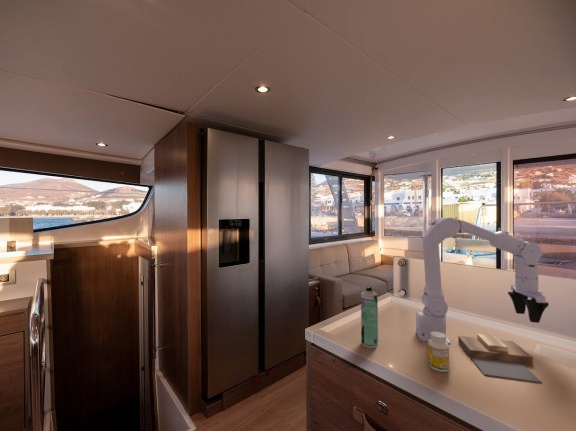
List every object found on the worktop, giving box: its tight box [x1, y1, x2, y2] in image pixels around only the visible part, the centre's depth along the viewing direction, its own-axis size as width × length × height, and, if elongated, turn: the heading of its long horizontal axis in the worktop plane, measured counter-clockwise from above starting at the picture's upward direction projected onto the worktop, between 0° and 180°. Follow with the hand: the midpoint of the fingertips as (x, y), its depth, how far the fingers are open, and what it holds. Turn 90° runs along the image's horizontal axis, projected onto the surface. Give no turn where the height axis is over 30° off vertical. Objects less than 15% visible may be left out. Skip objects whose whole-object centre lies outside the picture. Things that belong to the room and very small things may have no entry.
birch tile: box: [476, 333, 508, 352], centre depth 83 cm, size 5×8×2 cm, turn 164°
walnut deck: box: [457, 335, 534, 366], centre depth 82 cm, size 16×10×2 cm, turn 74°
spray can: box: [360, 285, 379, 349], centre depth 89 cm, size 6×6×20 cm
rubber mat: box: [470, 357, 543, 384], centre depth 74 cm, size 13×9×1 cm
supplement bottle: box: [427, 332, 450, 373], centre depth 75 cm, size 5×5×10 cm
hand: (527, 317), depth 86 cm, fingers open, 7 cm apart
